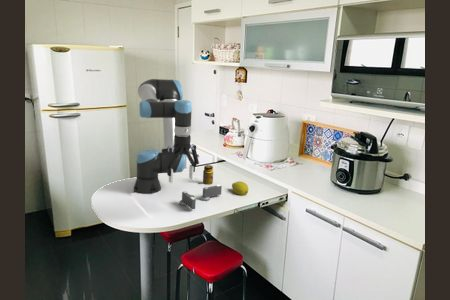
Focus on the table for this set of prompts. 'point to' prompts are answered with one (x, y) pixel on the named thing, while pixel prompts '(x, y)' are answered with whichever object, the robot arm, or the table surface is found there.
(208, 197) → the grey lever handle
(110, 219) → the table surface
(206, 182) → the condiment
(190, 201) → the grey lever handle
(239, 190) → the lemon
